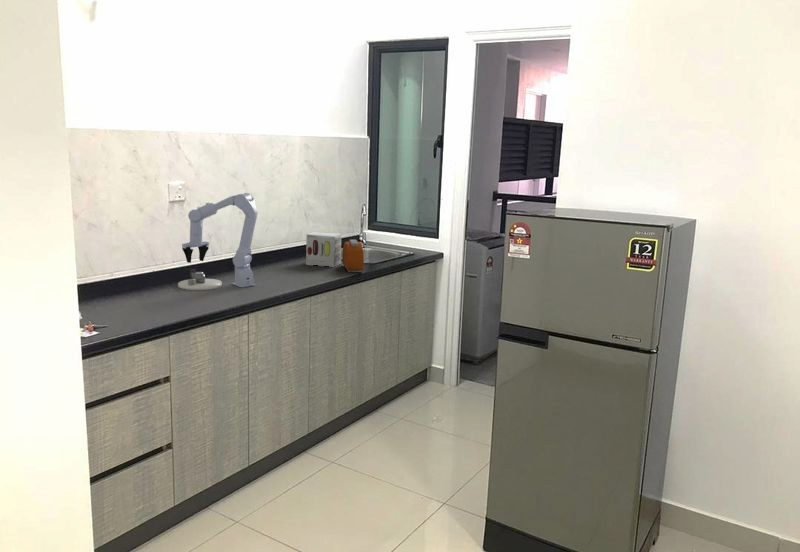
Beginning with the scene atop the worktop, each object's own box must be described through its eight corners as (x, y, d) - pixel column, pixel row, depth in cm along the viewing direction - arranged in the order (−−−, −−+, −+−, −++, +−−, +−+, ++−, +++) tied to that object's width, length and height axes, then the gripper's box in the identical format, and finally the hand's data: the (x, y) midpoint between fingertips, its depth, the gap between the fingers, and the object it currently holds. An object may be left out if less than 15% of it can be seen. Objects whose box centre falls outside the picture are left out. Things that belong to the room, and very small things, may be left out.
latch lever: (206, 282, 308) (206, 272, 307) (197, 283, 305) (197, 273, 304) (196, 278, 317) (195, 268, 316) (187, 279, 314) (187, 269, 313)
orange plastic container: (363, 273, 353) (364, 243, 350) (347, 273, 351) (347, 243, 348) (357, 265, 375) (358, 236, 372) (342, 265, 373) (342, 236, 370)
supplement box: (305, 265, 370) (305, 234, 366) (313, 261, 382) (313, 231, 379) (334, 267, 366) (334, 236, 362) (341, 263, 379) (341, 233, 375)
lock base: (229, 287, 308) (229, 279, 307) (188, 292, 295) (188, 283, 294) (211, 279, 323) (210, 272, 322) (171, 284, 310) (171, 276, 309)
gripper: (202, 231, 321) (201, 258, 324) (178, 233, 309) (177, 261, 312) (212, 234, 317) (211, 261, 320) (188, 236, 305) (187, 264, 308)
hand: (195, 261), depth 316 cm, fingers open, 7 cm apart
